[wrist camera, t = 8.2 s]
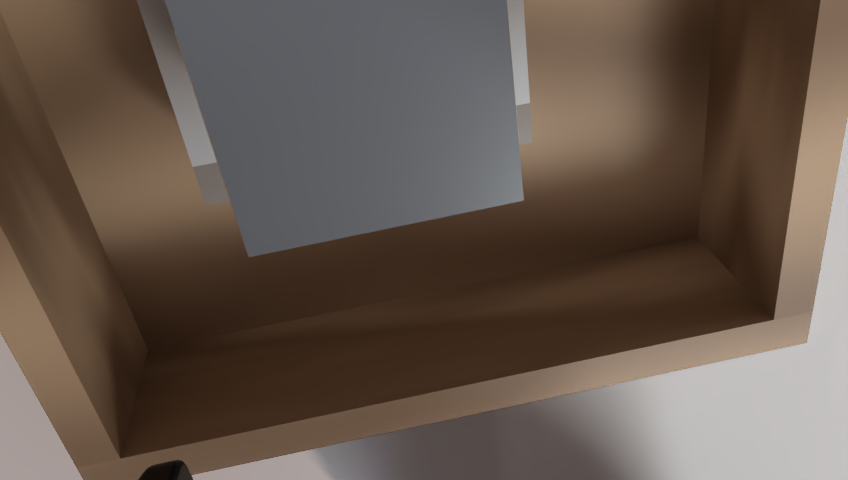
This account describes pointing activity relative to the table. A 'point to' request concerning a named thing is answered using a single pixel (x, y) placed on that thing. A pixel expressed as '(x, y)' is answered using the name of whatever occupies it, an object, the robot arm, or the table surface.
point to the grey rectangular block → (353, 111)
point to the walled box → (409, 233)
